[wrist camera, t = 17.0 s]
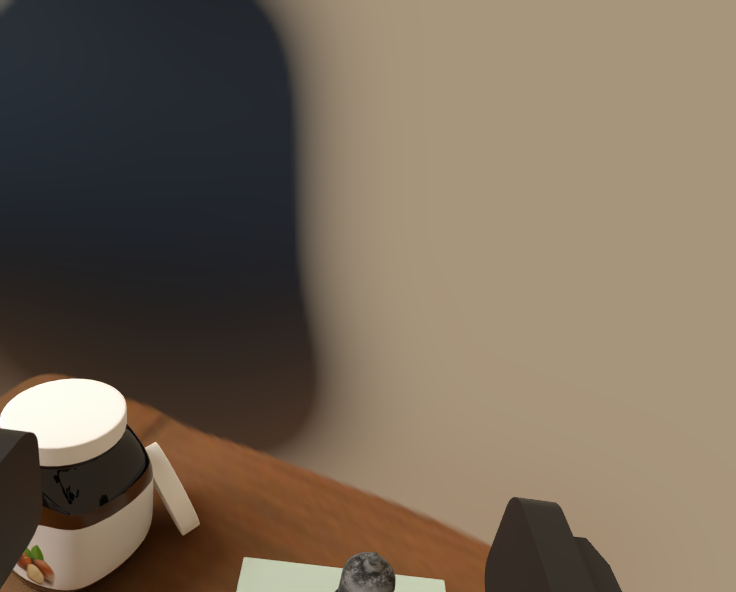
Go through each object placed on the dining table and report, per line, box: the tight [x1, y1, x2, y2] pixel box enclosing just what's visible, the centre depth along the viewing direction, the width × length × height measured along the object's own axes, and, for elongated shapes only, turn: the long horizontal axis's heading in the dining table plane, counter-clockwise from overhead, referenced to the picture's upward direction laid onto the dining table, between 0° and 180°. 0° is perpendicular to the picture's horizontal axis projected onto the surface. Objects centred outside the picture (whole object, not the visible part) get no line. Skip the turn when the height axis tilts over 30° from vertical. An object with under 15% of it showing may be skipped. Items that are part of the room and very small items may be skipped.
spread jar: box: [0, 379, 200, 592], centre depth 38 cm, size 12×11×12 cm
